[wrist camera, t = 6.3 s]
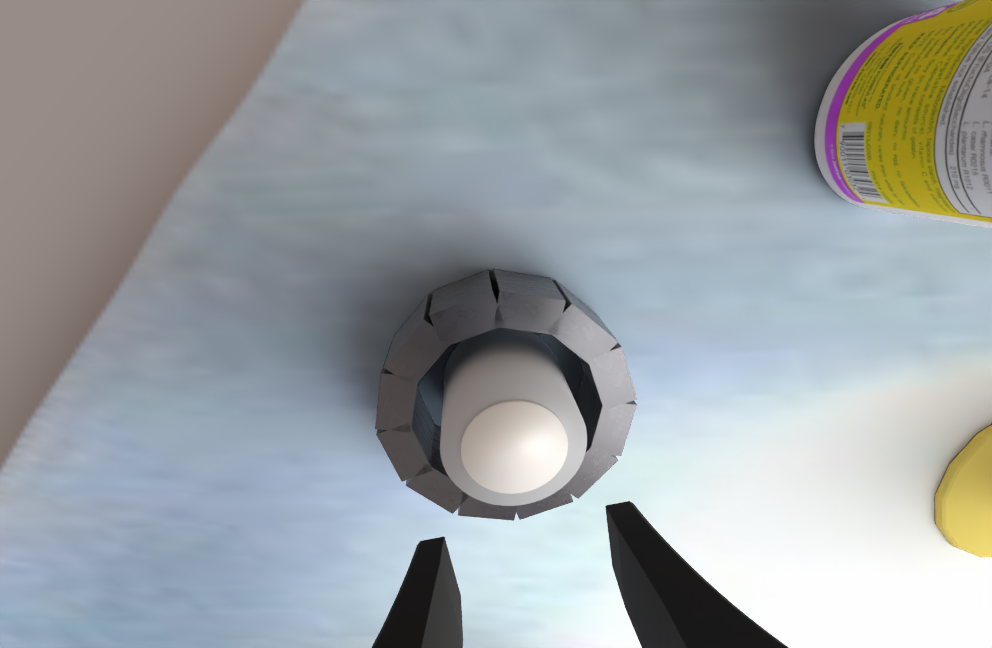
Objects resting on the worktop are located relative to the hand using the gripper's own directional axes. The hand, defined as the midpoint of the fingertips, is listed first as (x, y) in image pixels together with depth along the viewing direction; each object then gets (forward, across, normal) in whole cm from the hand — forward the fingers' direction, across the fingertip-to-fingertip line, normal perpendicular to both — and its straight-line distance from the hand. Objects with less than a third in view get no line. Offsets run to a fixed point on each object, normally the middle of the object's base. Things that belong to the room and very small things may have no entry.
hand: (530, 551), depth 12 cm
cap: (+10, 0, 0) cm, 10 cm away
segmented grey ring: (+9, 0, 0) cm, 9 cm away
